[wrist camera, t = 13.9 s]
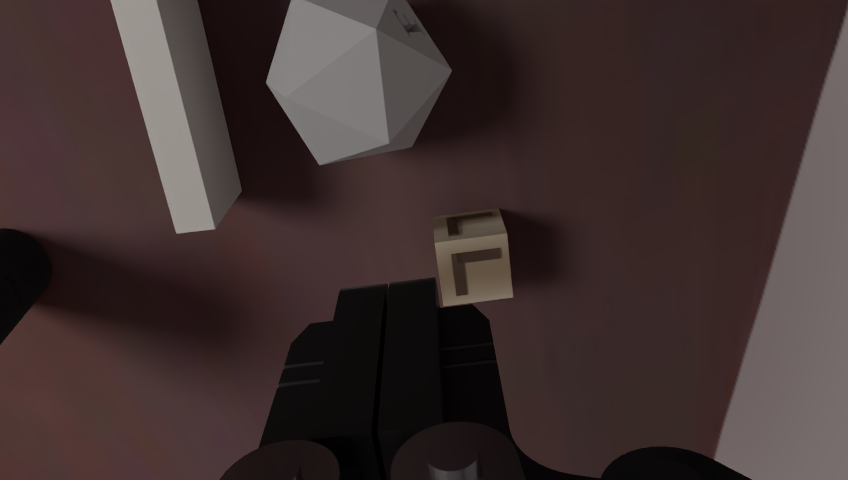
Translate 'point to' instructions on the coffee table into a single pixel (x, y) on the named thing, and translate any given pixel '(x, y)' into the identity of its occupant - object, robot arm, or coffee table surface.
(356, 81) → the die
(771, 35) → the coffee table surface
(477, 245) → the letter block
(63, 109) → the coffee table surface
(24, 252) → the drinking cup
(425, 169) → the coffee table surface
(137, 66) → the rail
